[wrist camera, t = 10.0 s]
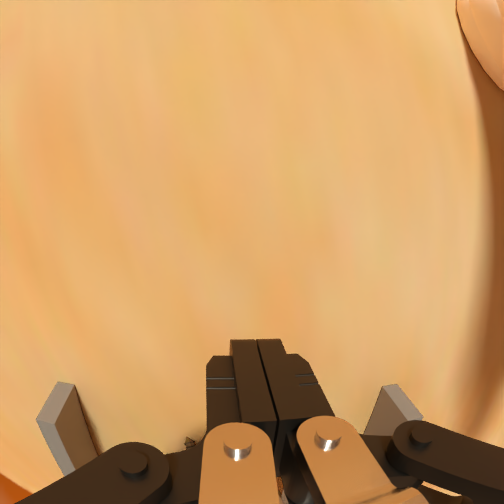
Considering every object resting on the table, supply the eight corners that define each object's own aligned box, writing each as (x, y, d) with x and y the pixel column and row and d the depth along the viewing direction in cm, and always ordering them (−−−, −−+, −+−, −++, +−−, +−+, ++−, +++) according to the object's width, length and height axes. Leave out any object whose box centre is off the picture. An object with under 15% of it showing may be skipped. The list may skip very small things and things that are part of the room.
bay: (397, 384, 15) (423, 416, 12) (333, 512, 19) (343, 538, 16) (57, 381, 13) (35, 419, 10) (114, 515, 16) (110, 543, 13)
